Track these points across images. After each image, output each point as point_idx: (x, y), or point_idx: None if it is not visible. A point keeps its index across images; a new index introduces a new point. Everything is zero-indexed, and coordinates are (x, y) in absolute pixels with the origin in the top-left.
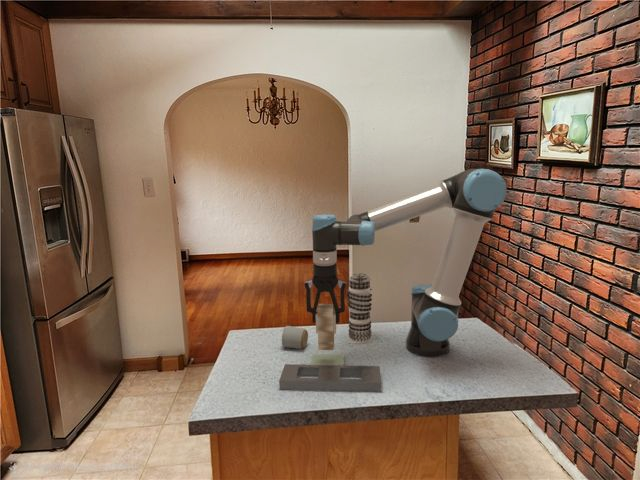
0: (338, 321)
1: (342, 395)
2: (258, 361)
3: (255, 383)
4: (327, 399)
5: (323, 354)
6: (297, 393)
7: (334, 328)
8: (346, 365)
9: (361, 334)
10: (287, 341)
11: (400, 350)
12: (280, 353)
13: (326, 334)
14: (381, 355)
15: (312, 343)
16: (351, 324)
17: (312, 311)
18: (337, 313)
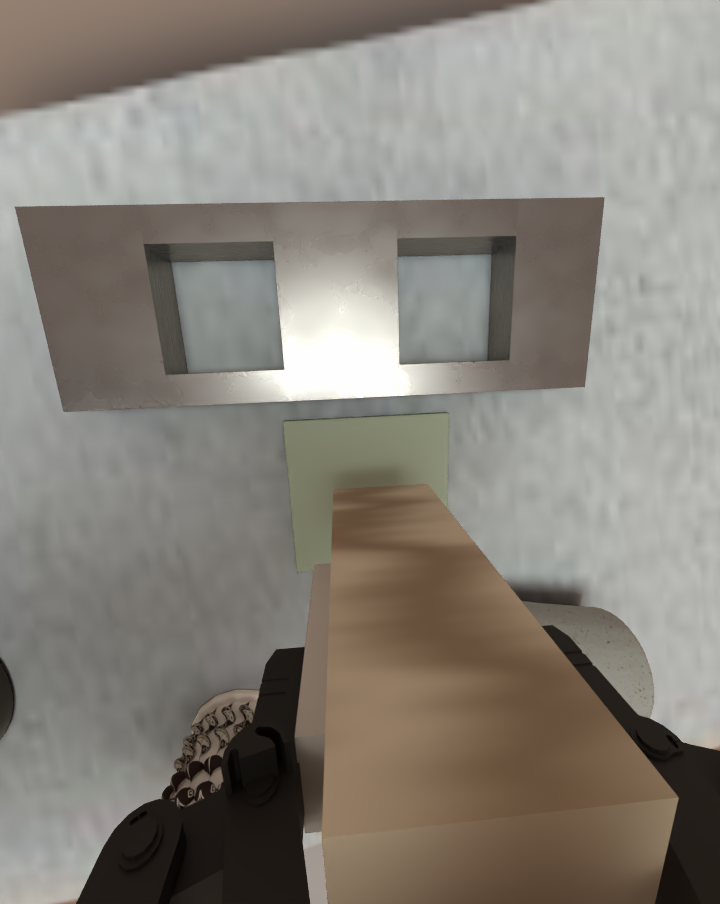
0: (275, 664)
1: (257, 184)
2: (680, 478)
3: (682, 274)
4: (328, 138)
5: None
6: (480, 190)
7: (323, 592)
8: (253, 400)
9: (217, 735)
10: (591, 616)
11: (35, 649)
12: (589, 559)
13: (390, 533)
14: (120, 593)
15: None
16: None
17: (688, 755)
18: (249, 752)
